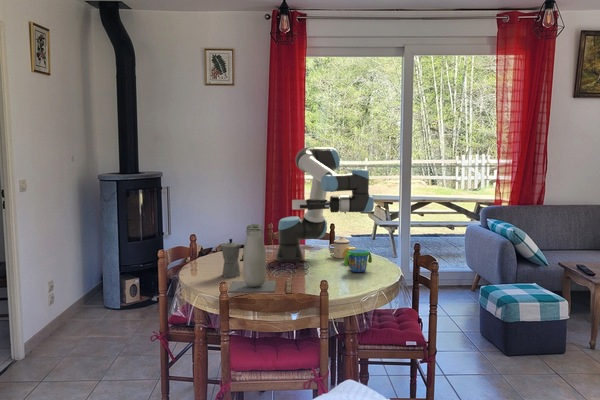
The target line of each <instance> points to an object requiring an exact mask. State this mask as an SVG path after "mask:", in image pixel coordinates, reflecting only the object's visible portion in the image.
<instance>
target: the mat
mask: <svg viewBox="0 0 600 400" xmlns="http://www.w3.org/2000/svg"><path fill="white" fill-rule="evenodd" d="M276 284H277V281H276V280H265V282H264V284H263V285H261V286H259V287H250V286H248V285H247V284H246V283H245V282H244V280H233V281H231V284H230V286H229V288H228V290H227V293H275V291H276Z"/></svg>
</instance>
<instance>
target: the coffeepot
mask: <svg viewBox="0 0 600 400" xmlns="http://www.w3.org/2000/svg"><path fill="white" fill-rule="evenodd" d="M228 240H229V242H225V243H220V244H218V246H219V247H220V249H221V251H222V258H223V267H222V275H221V276H222V277H223V276H225V277H224V278H227V277H233V278H237V277H236V276H238V277H240V276H241V275H240V274H241V273H242V271H241V268H240V262H243V254H242V257H241V258H240V259H239V257H240V250H242V249H244V245H245V244H240V243H238V242H237V243H236V242H233V238H229V239H228ZM239 261H240V262H239Z"/></svg>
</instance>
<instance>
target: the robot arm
mask: <svg viewBox="0 0 600 400" xmlns="http://www.w3.org/2000/svg"><path fill="white" fill-rule="evenodd" d="M294 160H295V165H296V167H297V168H298V169H299V170H300V171H301V172H302V173H303V172H304V173H308V174H309V176H311V177H312V182H311V187H310V193H309V198H307V199H292V200H291V210H307V211H306V212H304V214H303V217H302V218H300V217H299V216H295V215H294V216H287V217H283V218H280V220H278V228H277V229H278V247H277V251H276V254H275V261H277V262H278V263H286V264H287V263H289V264H291V263H299V262H302V261H303V260H304V254H303V251H302V247H301V241H304V240H317V239H322V238H324V237H325V235H326V233H327V229H328V226H327V225H328V222H327V220H326V218H325V216H324V210H329V211H330V213H344V214H345V215H346V214H347V213H371V212H372V211H373V210H374V207H375V201H374V196H373V195H370V194H369V192H370V191H369V185H370V183H369V182H370V175H369V174H370V173H369V170H368V169H362V168H357V169H356V168H355V169H352V171H351V173H342V174H341V173H340V174H339V173H337V172H335V171H336V170H339V169H338V168H339V167H340V163H341V162H340V155H339V152H338V150H337V149H336V148H335V147H331V146H330V147H329V146H322V147H321V146H314V147H313V146H311V147H309V146H307V147H305V148H302V149H301V150H299V151H298V153H297V154H296V156H295V159H294ZM346 191H347V192H349V191H351V195H339V196H338V195H331V196H330V197H329V200H328V199H326V198H327V192H329V193H334V192H346Z"/></svg>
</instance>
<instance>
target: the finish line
mask: <svg viewBox="0 0 600 400" xmlns="http://www.w3.org/2000/svg"><path fill="white" fill-rule="evenodd" d="M285 288H286V291H285V293H291V294H292V279H291V278H290V279H286V287H285Z"/></svg>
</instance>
